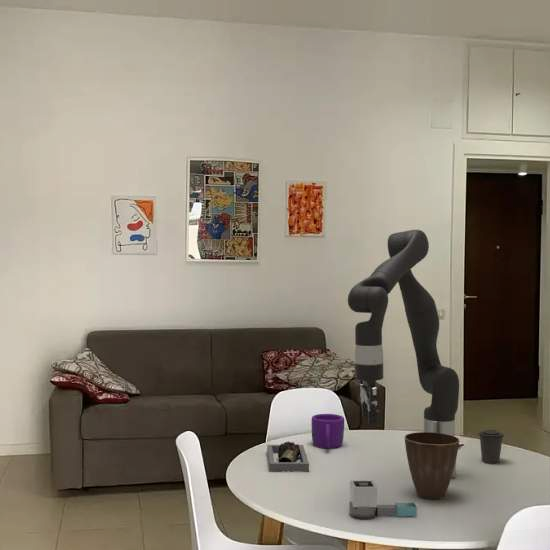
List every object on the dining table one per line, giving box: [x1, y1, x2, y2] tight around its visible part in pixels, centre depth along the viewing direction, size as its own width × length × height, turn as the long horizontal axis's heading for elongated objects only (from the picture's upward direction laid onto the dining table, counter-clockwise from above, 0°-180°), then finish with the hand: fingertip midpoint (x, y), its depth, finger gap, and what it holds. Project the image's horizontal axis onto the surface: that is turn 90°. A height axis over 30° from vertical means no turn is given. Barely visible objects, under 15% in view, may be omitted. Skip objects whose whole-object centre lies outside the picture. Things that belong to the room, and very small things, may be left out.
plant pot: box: [404, 431, 460, 500], centre depth 212 cm, size 15×15×16 cm
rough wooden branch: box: [277, 441, 300, 462], centre depth 244 cm, size 18×7×6 cm, turn 170°
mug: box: [311, 413, 345, 449], centre depth 263 cm, size 17×11×10 cm, turn 176°
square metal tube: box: [349, 479, 378, 507], centre depth 195 cm, size 6×6×5 cm
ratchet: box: [348, 483, 418, 521], centre depth 196 cm, size 17×7×8 cm, turn 92°
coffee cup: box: [478, 429, 505, 465], centre depth 247 cm, size 8×8×10 cm
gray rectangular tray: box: [266, 444, 310, 473], centre depth 245 cm, size 12×23×2 cm, turn 2°
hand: (369, 421), depth 204 cm, fingers open, 8 cm apart
